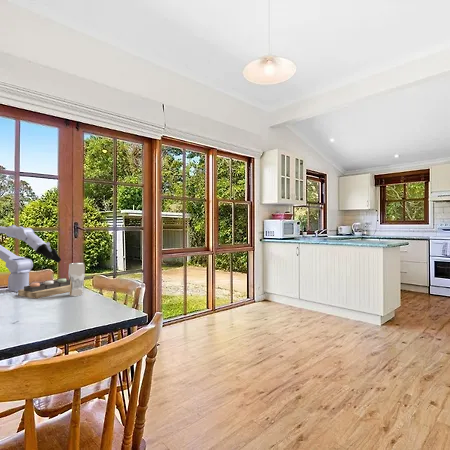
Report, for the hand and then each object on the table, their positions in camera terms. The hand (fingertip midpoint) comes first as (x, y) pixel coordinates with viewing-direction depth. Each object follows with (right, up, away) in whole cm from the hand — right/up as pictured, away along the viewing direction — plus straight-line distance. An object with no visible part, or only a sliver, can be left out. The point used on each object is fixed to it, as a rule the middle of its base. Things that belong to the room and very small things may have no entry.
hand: (55, 259), depth 151 cm
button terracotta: (-6, -13, -6) cm, 15 cm away
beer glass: (+12, -17, -4) cm, 21 cm away
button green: (0, -13, +6) cm, 14 cm away
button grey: (-3, -13, 0) cm, 13 cm away
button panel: (-3, -17, 0) cm, 17 cm away
